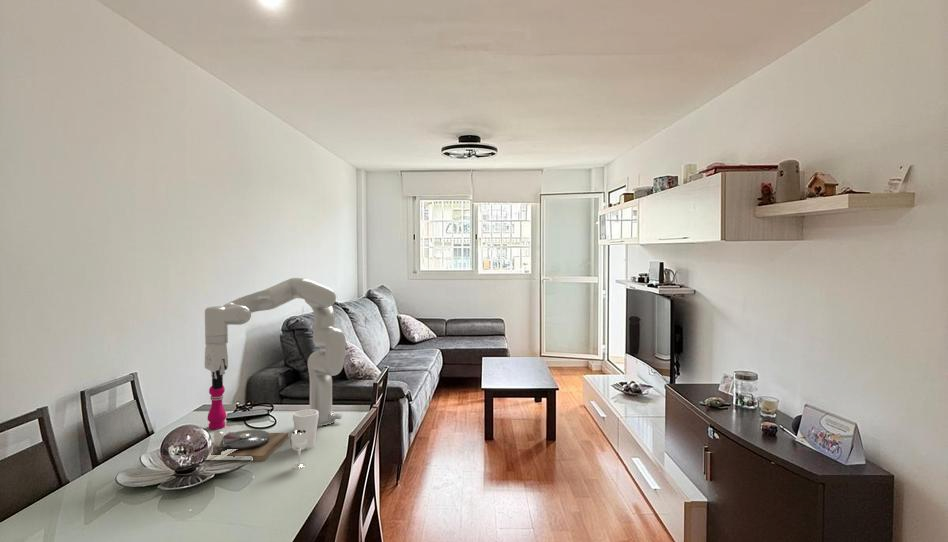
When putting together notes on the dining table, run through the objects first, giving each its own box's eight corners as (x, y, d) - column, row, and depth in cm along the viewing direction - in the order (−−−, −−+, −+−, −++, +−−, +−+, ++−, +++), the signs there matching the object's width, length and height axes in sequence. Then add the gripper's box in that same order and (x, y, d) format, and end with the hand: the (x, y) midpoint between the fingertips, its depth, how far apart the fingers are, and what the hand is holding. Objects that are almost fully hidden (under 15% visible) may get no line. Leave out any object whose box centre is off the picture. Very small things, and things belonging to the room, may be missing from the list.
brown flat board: (288, 437, 206) (288, 432, 206) (263, 461, 182) (263, 455, 182) (224, 437, 206) (224, 431, 206) (191, 460, 182) (191, 454, 182)
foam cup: (287, 449, 194) (287, 415, 194) (301, 441, 203) (301, 408, 203) (310, 451, 192) (310, 417, 191) (323, 443, 201) (323, 410, 200)
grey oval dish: (247, 431, 206) (247, 413, 206) (279, 437, 198) (279, 419, 198) (199, 448, 186) (198, 429, 186) (231, 456, 179) (231, 436, 179)
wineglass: (286, 467, 177) (286, 433, 177) (299, 461, 182) (299, 428, 182) (298, 470, 174) (298, 435, 174) (311, 464, 180) (311, 430, 179)
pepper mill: (220, 430, 215) (221, 382, 214) (203, 429, 215) (203, 382, 215) (229, 424, 222) (229, 378, 222) (213, 424, 222) (213, 378, 222)
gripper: (197, 338, 193) (198, 387, 194) (214, 343, 183) (215, 394, 184) (218, 336, 199) (219, 383, 199) (235, 340, 189) (236, 389, 190)
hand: (217, 388), depth 192 cm, fingers closed
